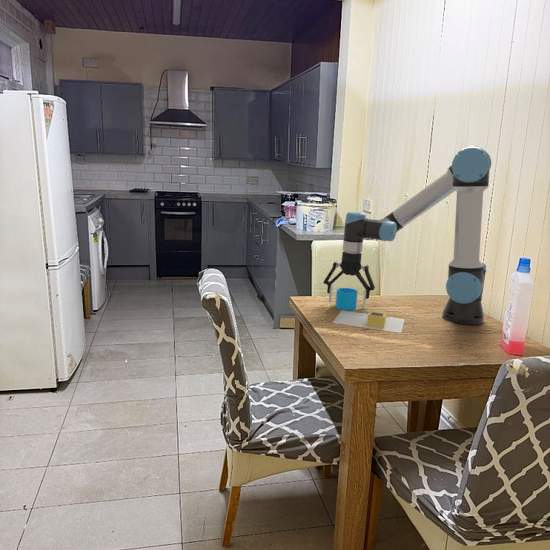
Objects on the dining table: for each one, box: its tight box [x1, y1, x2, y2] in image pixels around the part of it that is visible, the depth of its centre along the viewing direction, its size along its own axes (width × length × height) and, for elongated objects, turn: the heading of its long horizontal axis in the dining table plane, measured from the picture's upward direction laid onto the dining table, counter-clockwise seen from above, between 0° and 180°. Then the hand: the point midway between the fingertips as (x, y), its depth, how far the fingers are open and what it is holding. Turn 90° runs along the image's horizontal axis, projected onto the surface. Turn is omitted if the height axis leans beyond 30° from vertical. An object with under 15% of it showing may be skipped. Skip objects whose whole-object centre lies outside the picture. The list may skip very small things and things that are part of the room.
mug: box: [335, 287, 358, 311], centre depth 203 cm, size 12×8×8 cm
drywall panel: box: [332, 309, 405, 334], centre depth 186 cm, size 30×17×1 cm, turn 72°
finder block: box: [367, 310, 388, 328], centre depth 182 cm, size 6×6×4 cm
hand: (347, 303), depth 203 cm, fingers open, 13 cm apart
